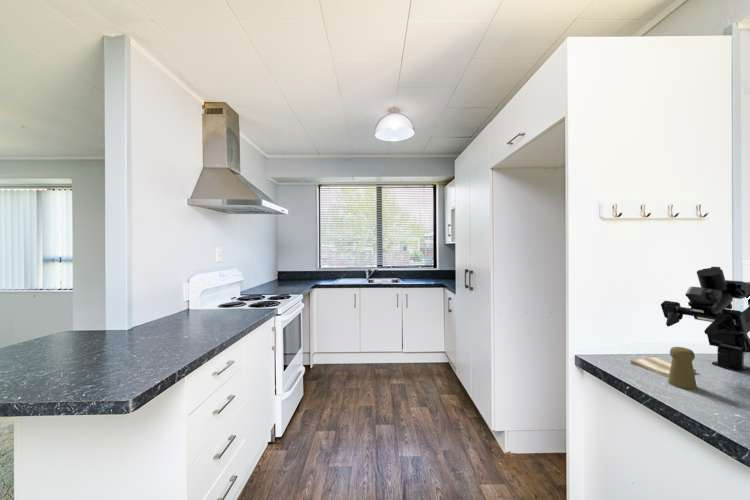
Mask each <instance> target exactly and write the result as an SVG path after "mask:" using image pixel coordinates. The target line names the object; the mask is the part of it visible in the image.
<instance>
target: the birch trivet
mask: <svg viewBox="0 0 750 500" xmlns="http://www.w3.org/2000/svg"><path fill="white" fill-rule="evenodd" d="M671 363H672V361H669V360H667V359H663V358H661V357H657V356H654V357H646V358H639V359H633V360H630V364H631V365H634V366H637V367H639V368H642V369H645V370H648V371H650V372H653V373H657V374H660V375H662V376H665V377H668V378H669V374H670V368H671ZM693 369H694V374H696V373H697V369H695V368H693Z"/></svg>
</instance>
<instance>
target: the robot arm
mask: <svg viewBox="0 0 750 500" xmlns="http://www.w3.org/2000/svg"><path fill="white" fill-rule="evenodd" d="M696 275H697V279H698V282H699V286H700V287H699V286H689V287H688V289H687V291H686V293H685V297H686V298H687V299H688V300H689V301H688V302H687V305H688V307H685V306H682V305H681V304H680V302H678V301H672V300H664V301H663V302H662V303H660V307H661V309H662V313H663V316H664V318H666V322H665V325H666V327H671V326H674V325H675V324H678V323H680V320H682V319H683V317H684V315H685V316H690V317H693V318H694V320H698V321H704V322H710V324H709V325H708V326H707V327H706V328H705V329H704V331H703V332H704V334H705V335H706V336H707V340H708V344H709V346H712V347H716V348H717V359H716V360H717V361H712V362H711V365H714V366H715V365H716V366H718V367H722V368H725V369H728V370H731V371H736V372H741V371H745V370H750V366H747V365H744V364H745V354H747V353H748V354H750V337H749V335H748V333H749V332H750V299H749V300H748V304H747V305H748V307H747V308H745V309H743V311H740V310H736V309H733V303H732V302H734V301H733V299H738V300H740V299H741V300H742V299H745V297H746V298H748V297H749V296H750V281H743V280H741V281H740V280H727V279H726V278H725V274H724V271H723V269H721V267H720V266H711V267H708V268H702V269H698V270H697V271H696Z"/></svg>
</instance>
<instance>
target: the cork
mask: <svg viewBox="0 0 750 500" xmlns="http://www.w3.org/2000/svg"><path fill="white" fill-rule="evenodd" d="M669 354H670V357H672V358H671V362H672V363H671V368H670V374H669V377H668V380H667V383H668V384H669V385H671V386H674V387H676V388H679V389H683V390H689V391H694V390H697V389H698V387H697V381H696V375H695V373H694V369H695V368H694V365H693V361H694V360H695V357H696V355H695V353H694V351H693V350H692V349H691V348H686V347H684V346H683V347H682V346H672V347H671V348H670V350H669Z"/></svg>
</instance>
